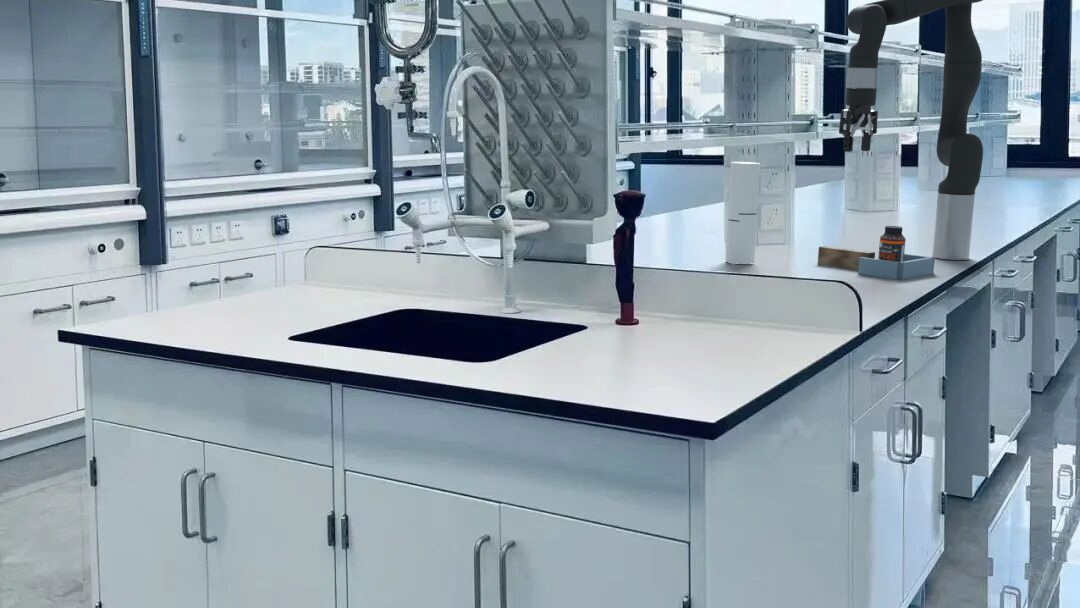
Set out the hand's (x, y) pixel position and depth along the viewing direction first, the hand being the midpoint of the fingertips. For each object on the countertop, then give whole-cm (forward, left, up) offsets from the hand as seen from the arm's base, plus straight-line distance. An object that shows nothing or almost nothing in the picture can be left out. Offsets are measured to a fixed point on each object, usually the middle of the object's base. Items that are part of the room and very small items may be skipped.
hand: (856, 151), depth 286 cm
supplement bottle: (+11, +18, -28) cm, 35 cm away
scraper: (+11, +6, -28) cm, 31 cm away
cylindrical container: (+28, -14, -28) cm, 42 cm away
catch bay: (+11, +19, -28) cm, 36 cm away
